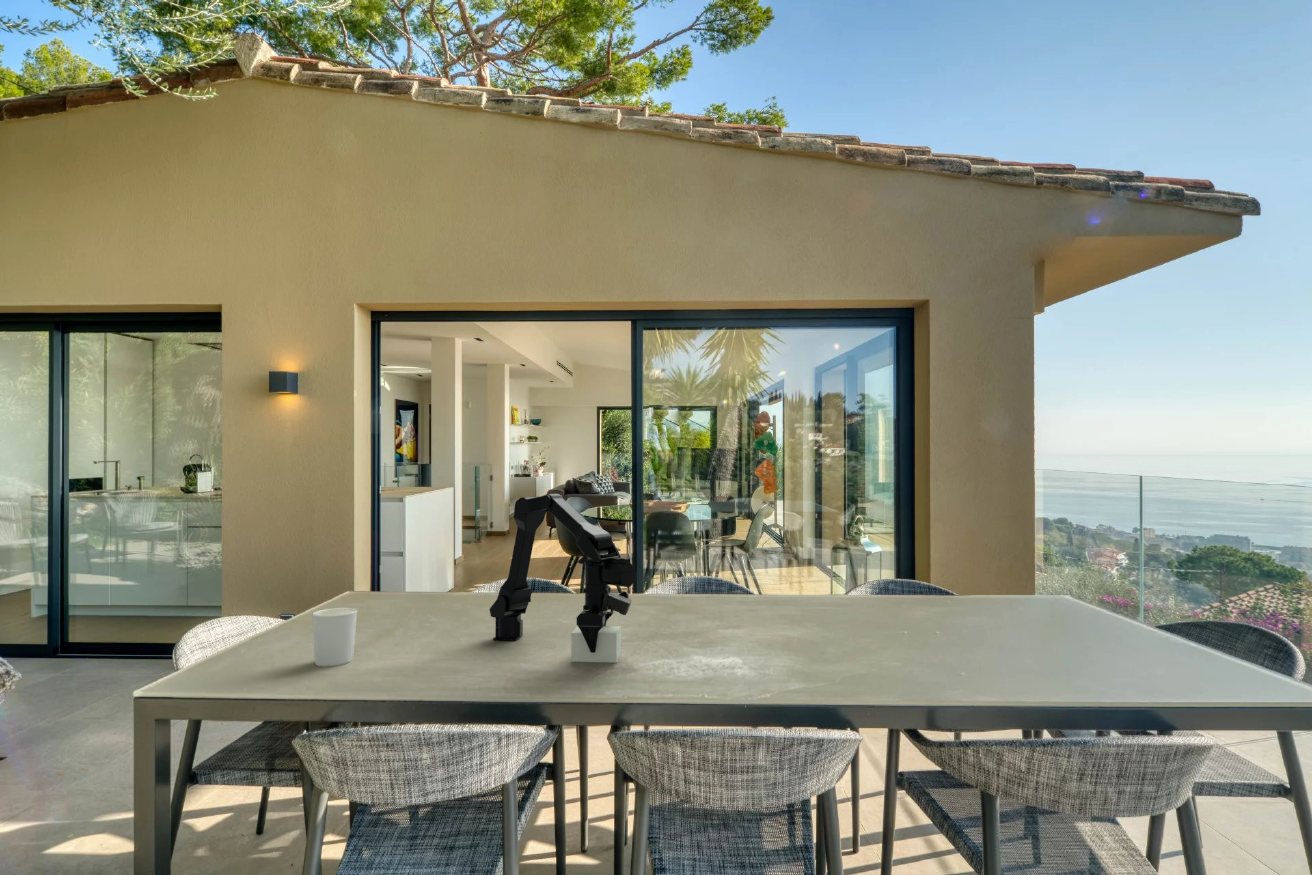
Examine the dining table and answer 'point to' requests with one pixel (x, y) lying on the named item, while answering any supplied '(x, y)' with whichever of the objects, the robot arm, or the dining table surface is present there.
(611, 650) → the pale white box
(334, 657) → the candle holder
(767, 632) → the dining table surface
